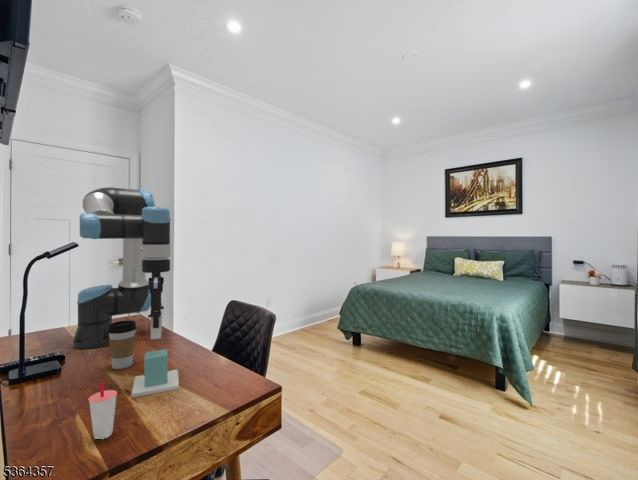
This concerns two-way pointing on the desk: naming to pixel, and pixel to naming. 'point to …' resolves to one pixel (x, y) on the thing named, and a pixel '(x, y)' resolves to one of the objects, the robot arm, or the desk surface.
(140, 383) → the post stand
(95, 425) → the cup
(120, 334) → the coffee cup
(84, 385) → the desk surface
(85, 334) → the robot arm
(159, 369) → the teal rectangular block
